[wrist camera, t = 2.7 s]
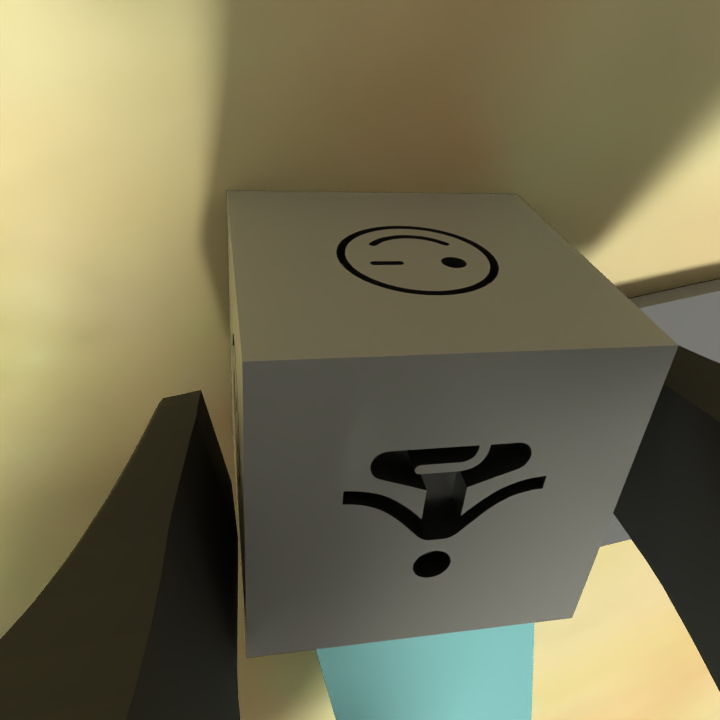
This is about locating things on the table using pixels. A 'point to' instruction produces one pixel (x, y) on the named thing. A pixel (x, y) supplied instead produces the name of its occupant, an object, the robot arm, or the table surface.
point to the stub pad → (680, 337)
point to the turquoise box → (434, 676)
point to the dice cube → (423, 413)
